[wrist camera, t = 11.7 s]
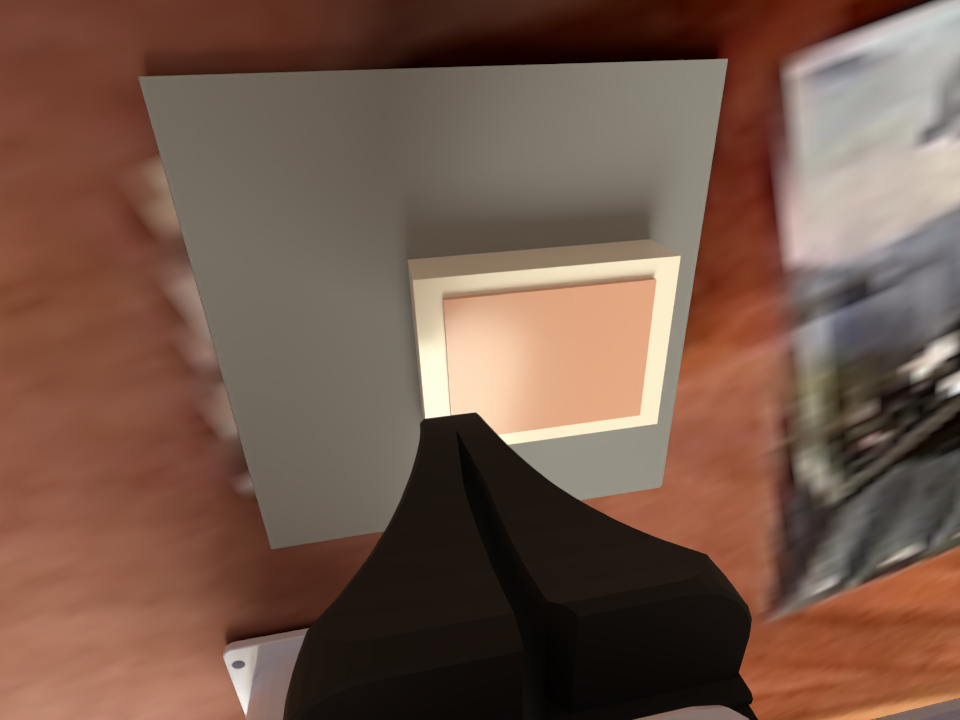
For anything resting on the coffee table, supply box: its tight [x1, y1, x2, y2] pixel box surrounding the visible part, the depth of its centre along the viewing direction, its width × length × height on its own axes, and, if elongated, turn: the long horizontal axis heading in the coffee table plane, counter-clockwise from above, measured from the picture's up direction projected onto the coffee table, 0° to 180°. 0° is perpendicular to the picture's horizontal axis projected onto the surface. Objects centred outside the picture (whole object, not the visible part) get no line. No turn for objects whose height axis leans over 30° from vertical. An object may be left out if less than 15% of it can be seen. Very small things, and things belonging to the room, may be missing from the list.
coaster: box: [408, 239, 681, 445], centre depth 18 cm, size 6×2×8 cm
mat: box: [138, 59, 728, 549], centre depth 19 cm, size 16×16×1 cm
